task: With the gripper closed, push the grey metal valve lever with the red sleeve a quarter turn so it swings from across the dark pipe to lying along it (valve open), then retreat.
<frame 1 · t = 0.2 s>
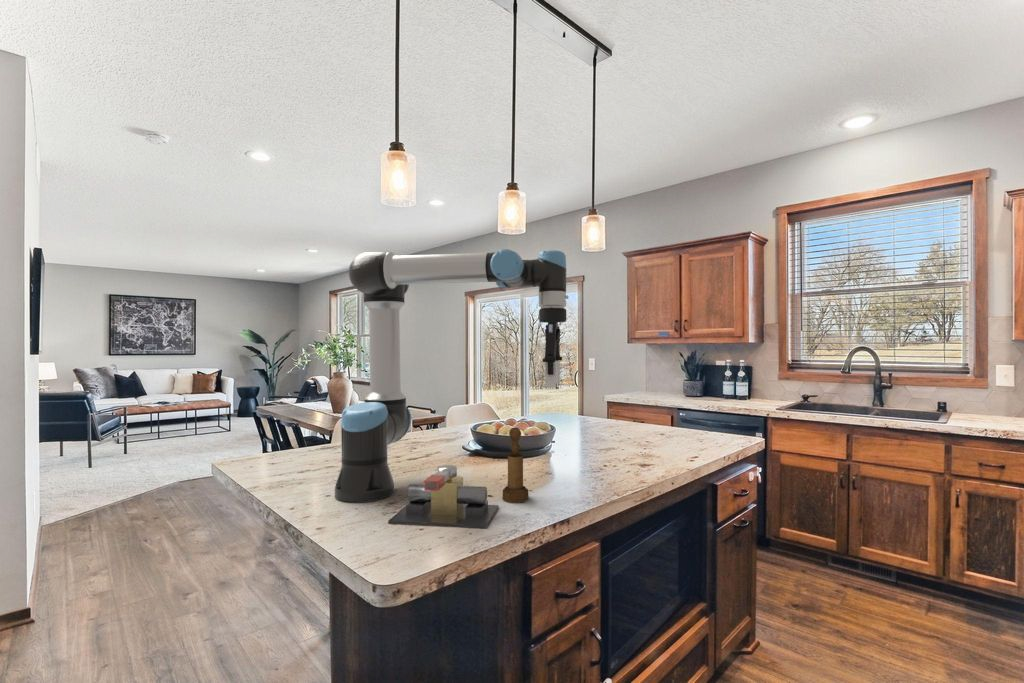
hand: (553, 385, 140), 28 cm above the counter, fingers open, 13 cm apart
valve: (447, 513, 119), on the counter
brown pepper mill: (515, 499, 129), on the counter
lever: (441, 477, 114), point 10 cm above the counter, hinge at 0.0°
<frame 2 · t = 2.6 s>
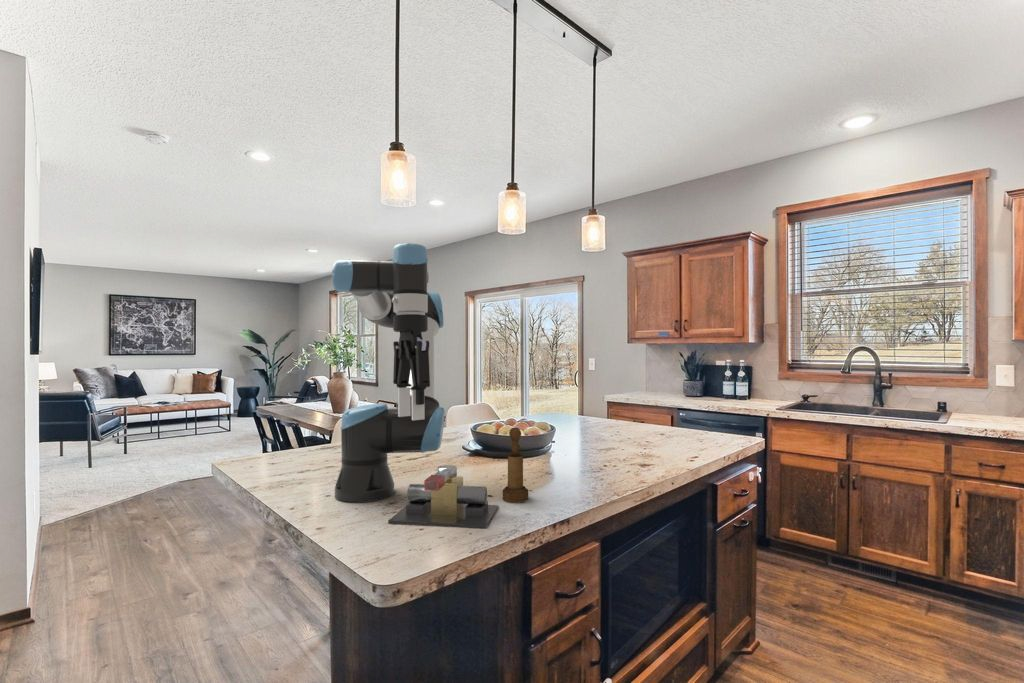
hand: (411, 417, 114), 23 cm above the counter, fingers open, 6 cm apart
nothing on the counter moved.
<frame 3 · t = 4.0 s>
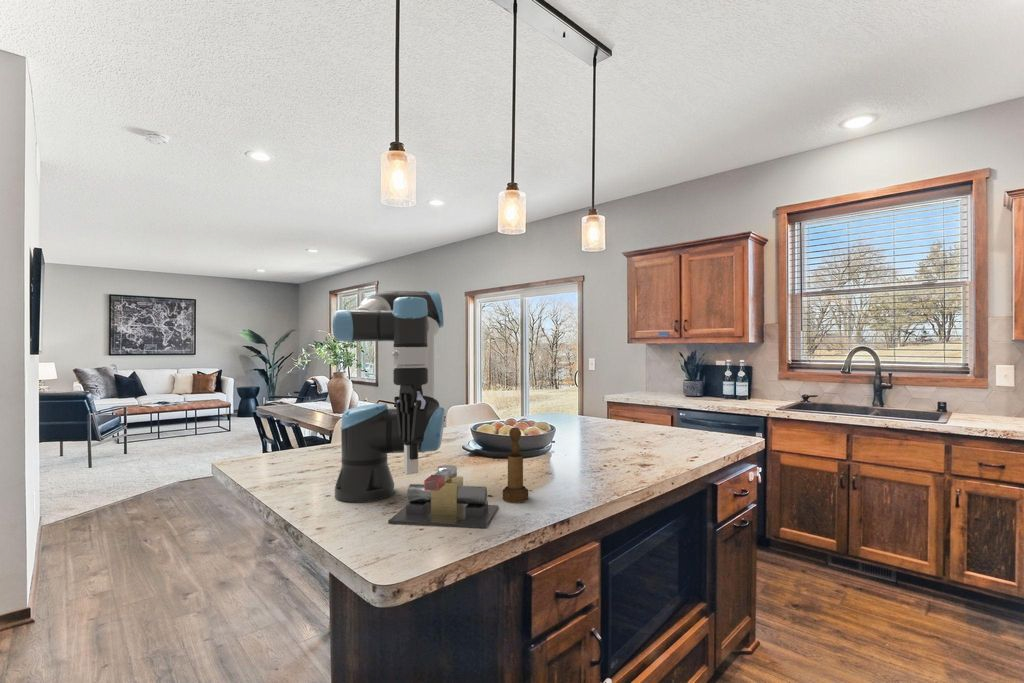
hand: (411, 473, 113), 11 cm above the counter, fingers closed
nothing on the counter moved.
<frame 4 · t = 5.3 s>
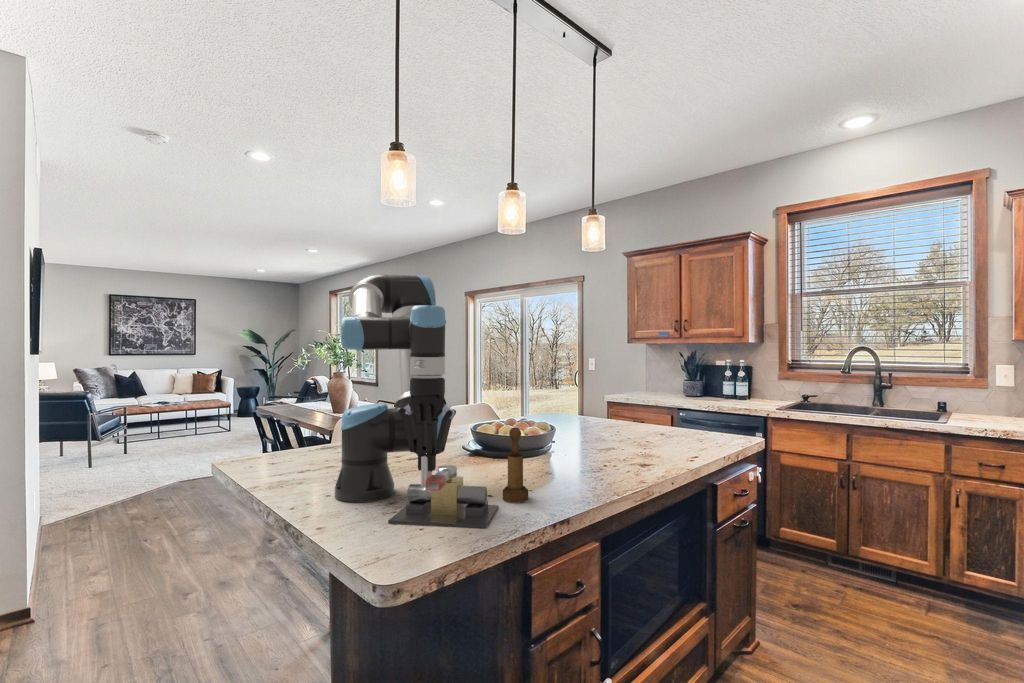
hand: (426, 485, 111), 9 cm above the counter, fingers closed
lever: (441, 477, 114), point 10 cm above the counter, hinge at 1.2°, touching gripper
everything else where it was.
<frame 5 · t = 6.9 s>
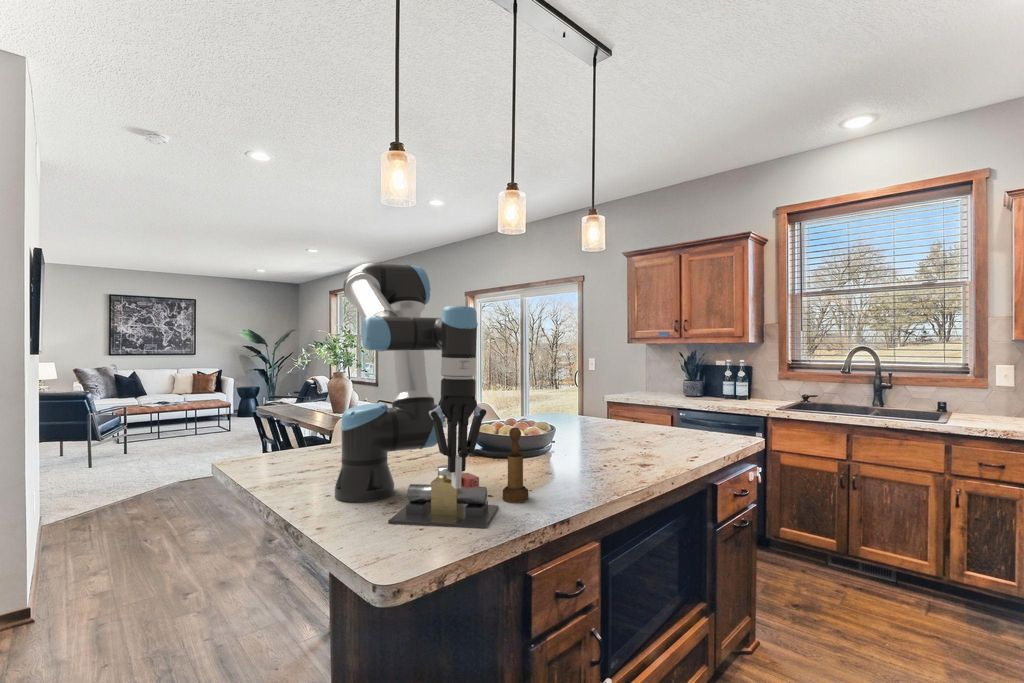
hand: (456, 486, 110), 8 cm above the counter, fingers closed
lever: (457, 476, 115), point 10 cm above the counter, hinge at 43.3°, touching gripper
everything else where it was.
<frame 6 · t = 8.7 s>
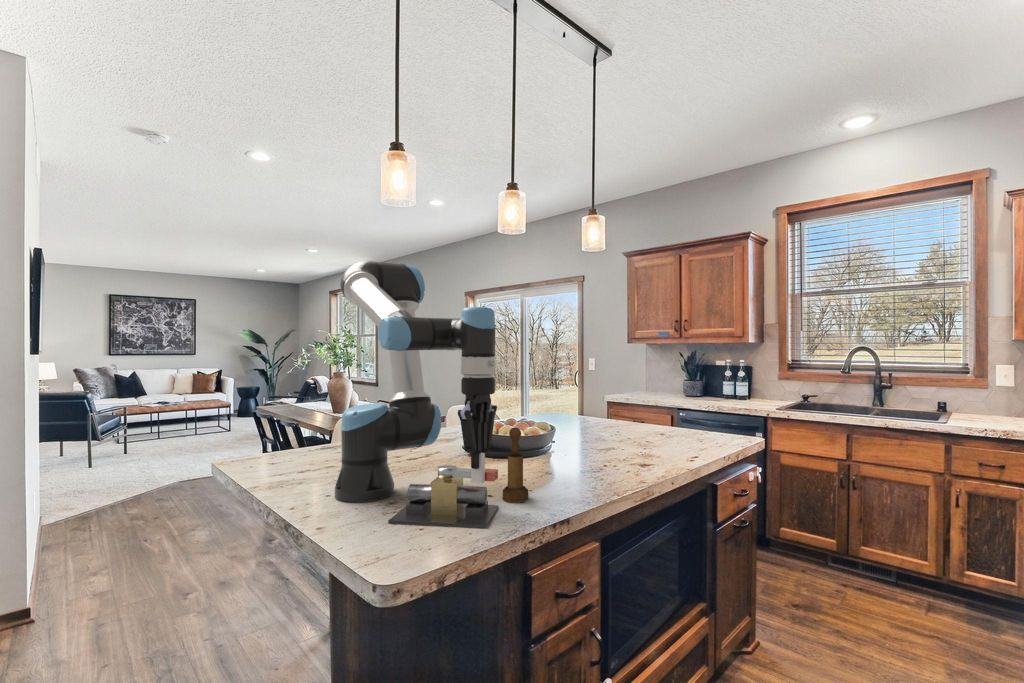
hand: (478, 482, 114), 8 cm above the counter, fingers closed
lever: (466, 473, 117), point 10 cm above the counter, hinge at 80.8°, touching gripper
everything else where it was.
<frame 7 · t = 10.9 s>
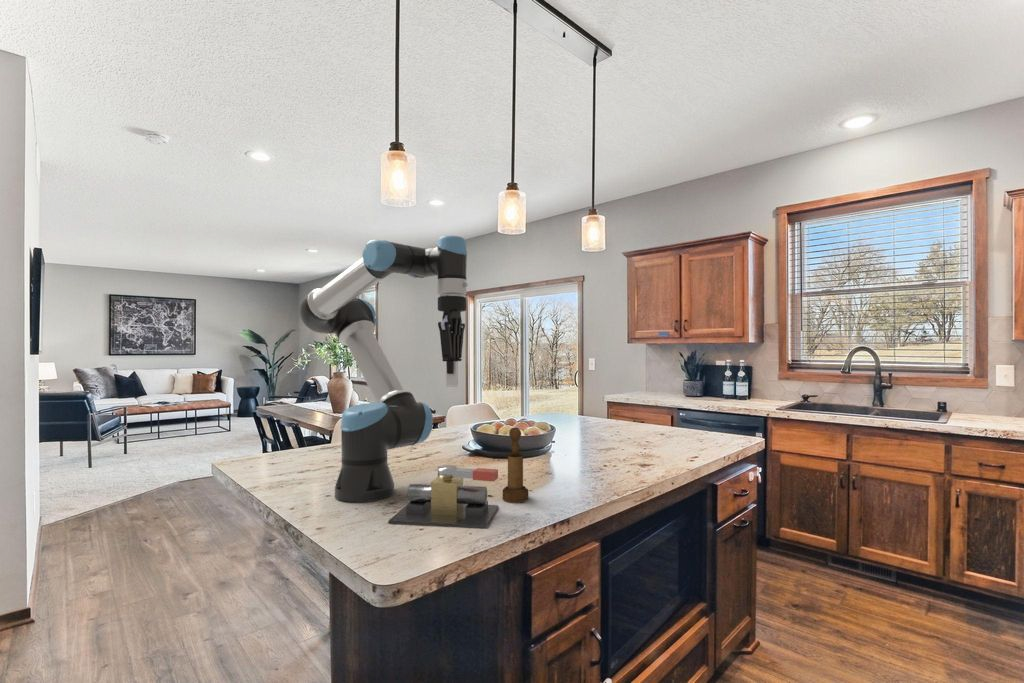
hand: (452, 386, 134), 28 cm above the counter, fingers closed
lever: (466, 473, 117), point 10 cm above the counter, hinge at 80.9°
everything else where it was.
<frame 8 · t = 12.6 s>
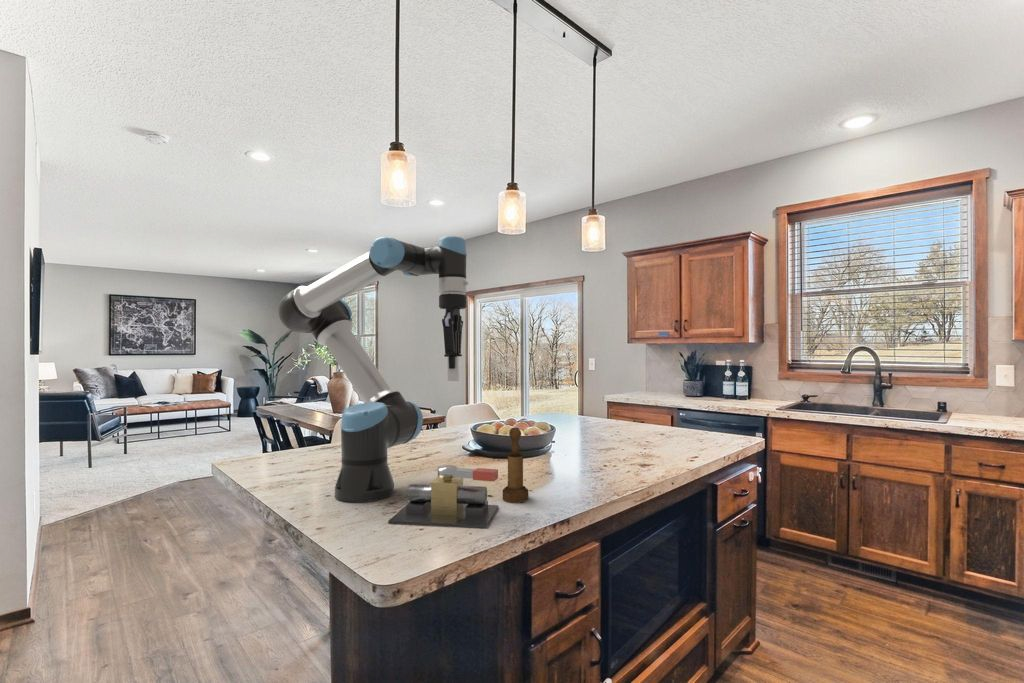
hand: (453, 380, 139), 29 cm above the counter, fingers closed
nothing on the counter moved.
at the end: lever at +81° (first picture: +0°) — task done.
